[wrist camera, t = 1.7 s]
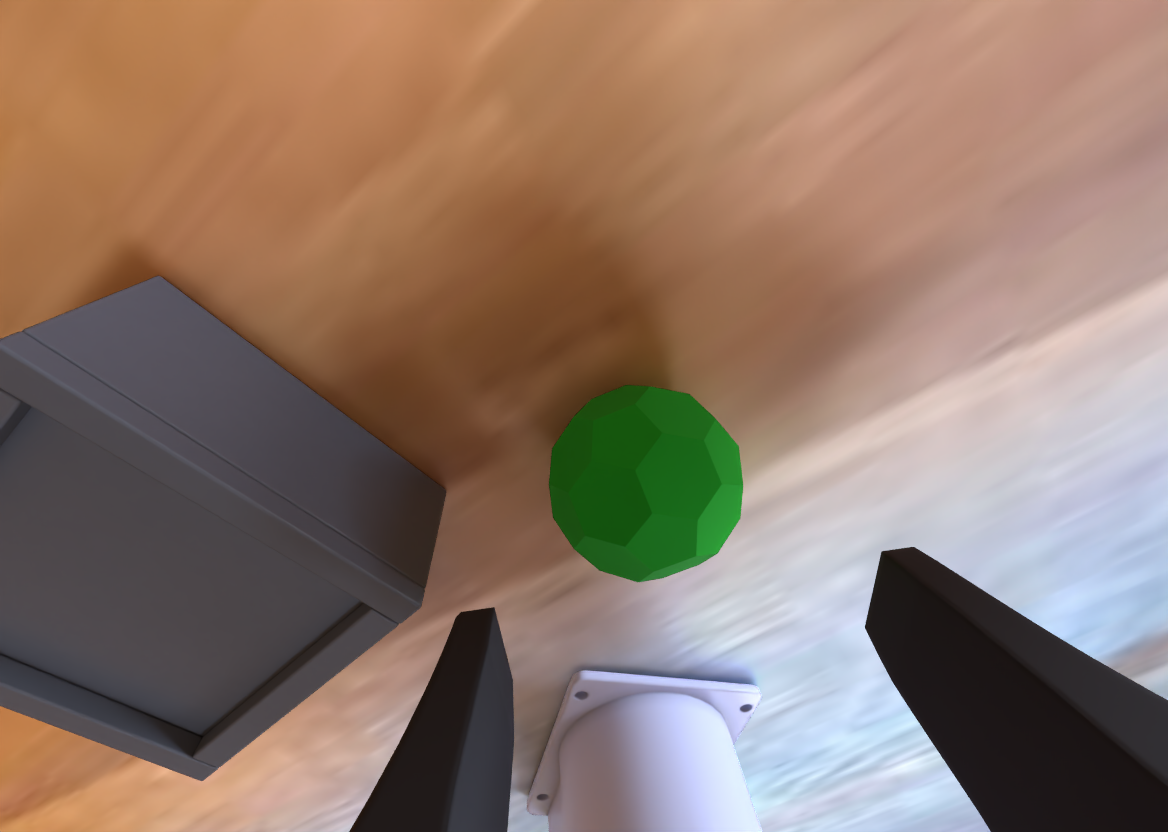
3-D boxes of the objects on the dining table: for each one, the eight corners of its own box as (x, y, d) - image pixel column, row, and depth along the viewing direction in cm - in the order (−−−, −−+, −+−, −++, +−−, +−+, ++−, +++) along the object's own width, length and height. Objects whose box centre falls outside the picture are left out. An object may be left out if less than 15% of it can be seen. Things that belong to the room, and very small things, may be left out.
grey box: (448, 490, 17) (422, 607, 12) (272, 641, 19) (201, 782, 15) (158, 273, 13) (-9, 340, 9) (-17, 494, 15) (-215, 627, 11)
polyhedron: (537, 366, 15) (543, 459, 11) (713, 348, 15) (784, 433, 11) (555, 510, 17) (564, 633, 13) (706, 493, 18) (762, 608, 13)
